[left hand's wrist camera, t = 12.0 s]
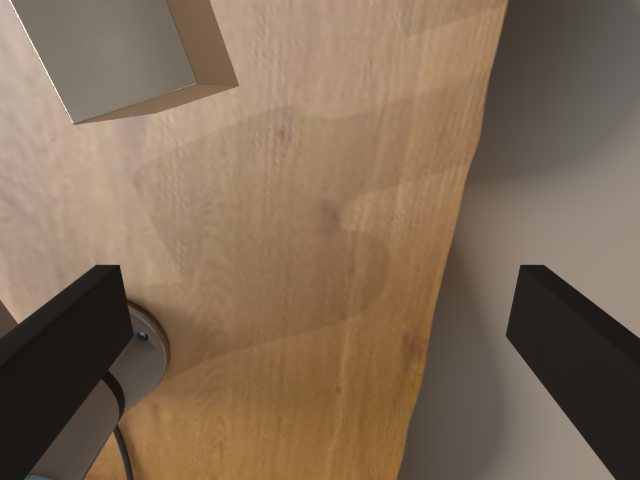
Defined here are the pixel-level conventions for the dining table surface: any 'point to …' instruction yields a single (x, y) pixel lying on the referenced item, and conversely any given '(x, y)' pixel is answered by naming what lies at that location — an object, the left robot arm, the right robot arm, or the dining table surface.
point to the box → (127, 54)
